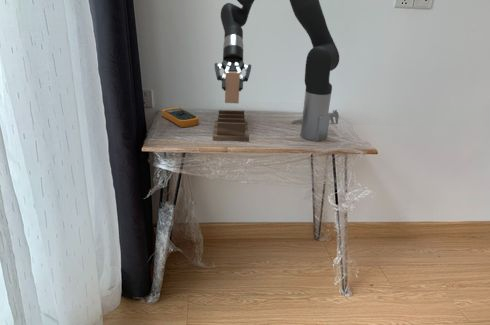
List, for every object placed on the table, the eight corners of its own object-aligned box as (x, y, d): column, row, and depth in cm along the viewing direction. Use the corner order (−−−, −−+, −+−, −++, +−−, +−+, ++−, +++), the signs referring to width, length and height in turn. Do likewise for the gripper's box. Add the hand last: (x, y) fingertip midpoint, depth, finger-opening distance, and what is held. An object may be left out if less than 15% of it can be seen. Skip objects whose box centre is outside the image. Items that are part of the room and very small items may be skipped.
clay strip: (225, 101, 135) (225, 71, 130) (238, 101, 135) (239, 71, 131) (224, 102, 133) (225, 72, 128) (238, 103, 133) (239, 73, 128)
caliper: (336, 123, 155) (338, 109, 152) (337, 124, 154) (339, 109, 151) (290, 123, 152) (291, 108, 149) (290, 124, 151) (292, 109, 149)
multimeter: (181, 129, 140) (181, 120, 138) (161, 116, 152) (160, 109, 151) (201, 125, 144) (200, 117, 143) (179, 113, 157) (179, 106, 156)
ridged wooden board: (215, 123, 147) (215, 108, 144) (247, 124, 148) (247, 109, 145) (212, 140, 130) (213, 124, 127) (249, 141, 130) (249, 125, 128)
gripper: (213, 43, 132) (212, 83, 126) (253, 44, 133) (253, 85, 127) (214, 55, 139) (212, 94, 133) (251, 57, 140) (251, 96, 134)
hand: (232, 89), depth 130 cm, fingers closed on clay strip, 5 cm apart
